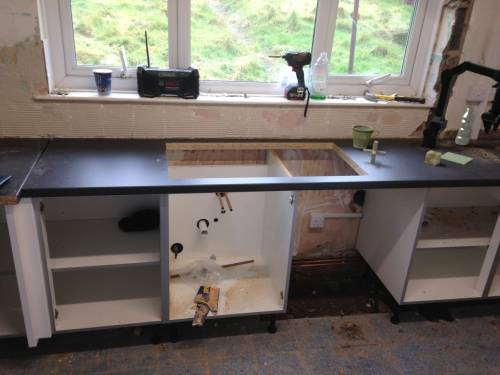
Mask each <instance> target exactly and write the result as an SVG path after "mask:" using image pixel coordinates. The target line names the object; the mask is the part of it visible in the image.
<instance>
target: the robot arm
mask: <svg viewBox="0 0 500 375" xmlns="http://www.w3.org/2000/svg"><path fill="white" fill-rule="evenodd" d="M466 72H470V73H474V74H478V75H480V76H484V77H487V78H490V79H491V80H493V81H494V82H496V83H495V84H493V85H491V88H492V89H495V93H494V96H493V99H492V100H491V102H490V104H491V106H490V109H488V111H486V112H482V114H481V115H480V119H481V121H482V124H483V129H484V133H485V135H489V134H490V131H491V130H492V131H493V132H497V131H498V129H499V127H500V69H499V68H495V67H494V68H493V67H491V66H487V65H483V64H479V63H475V62H472V61H471V60H466V61H463V62H461V63H459V64H458V65H456V66H453V67H450V68H446V69H443V70H442V71H441V73H440V86H441V89H440V93H439V97H438V101H437V105H436V109H435V113H434V116H433V117H432V119H431V120H430V123H429V125H428V127H427V128H425V129H424V130H423V131H422V135H423V137H422V142H421V144H420V145H419V146H420V147H422V148H423V147H424V148H427V149H435V148H437V147H438V143H439V135H440V134H441V133H442V132H444V131H445V129H447V124H448V123H449V120H448V119H446V113H447V108H448V106H449V101H450V96H451V93H452V89H453V87H454V85H455V83H457V80H458V77H459V76H460V75H462V74H464V73H466Z"/></svg>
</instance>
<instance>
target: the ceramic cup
mask: <svg viewBox="0 0 500 375" xmlns="http://www.w3.org/2000/svg"><path fill="white" fill-rule="evenodd" d="M375 132H377V134H376V135H375V136H373V137H371V136H372V135H373V134H374V133H375ZM379 135H380V132H379V130H377V129H374V127H372V126H369V125H366V124H355V125H353V126H352V137H353V139H352V141H353V143H352V144H353V148H355V149H360V150H363V149H368V144H369V142H371V140H373V139H374V138H376V137H377V136H379Z"/></svg>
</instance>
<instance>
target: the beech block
mask: <svg viewBox="0 0 500 375" xmlns="http://www.w3.org/2000/svg"><path fill="white" fill-rule="evenodd" d="M425 154H426V155H425V159H424V164H428V165H431V166H437V165H439V164H440V163H441V156H442V155H443V153H442V152H439V151H436V150H429V151H427V152H426V153H425Z"/></svg>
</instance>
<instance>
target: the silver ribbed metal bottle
mask: <svg viewBox="0 0 500 375" xmlns="http://www.w3.org/2000/svg"><path fill="white" fill-rule="evenodd" d="M474 112H475V107H473V106H472V107H471V106H466V109H465V112H463V114H461V116H460V122H459V129H458V132H457V134H456V136H455V139H454V140H455V141H454V142H455V144H456V145H459V146H467V145H468V144H469V143H470V137H471V136H470V135H471V130H472V128H473V127H472V126H473V124H474V122H475V120H476V117H475V114H474Z"/></svg>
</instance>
